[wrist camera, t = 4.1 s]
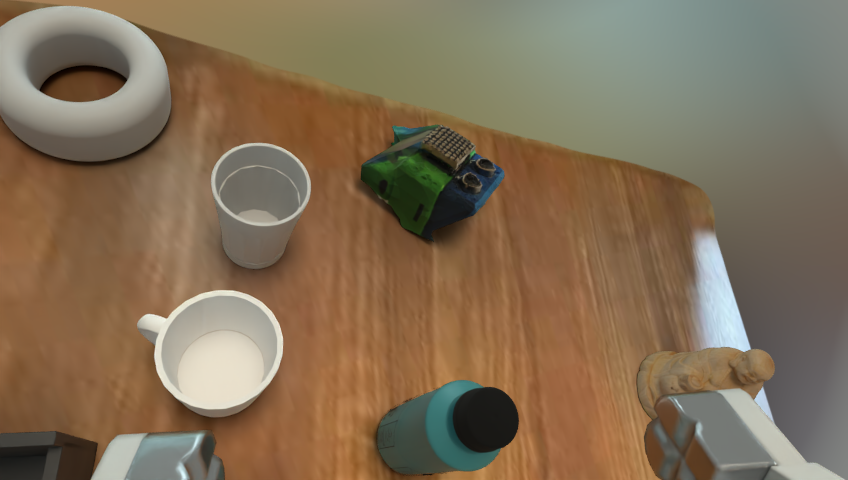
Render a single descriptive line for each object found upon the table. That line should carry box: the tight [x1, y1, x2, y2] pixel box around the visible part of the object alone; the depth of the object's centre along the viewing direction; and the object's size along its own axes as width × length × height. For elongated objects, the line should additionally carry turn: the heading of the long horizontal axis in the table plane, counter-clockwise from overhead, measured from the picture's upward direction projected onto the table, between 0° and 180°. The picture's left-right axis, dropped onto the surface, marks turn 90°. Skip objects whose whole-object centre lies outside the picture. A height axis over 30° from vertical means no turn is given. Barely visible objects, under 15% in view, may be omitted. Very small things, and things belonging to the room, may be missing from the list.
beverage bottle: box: [377, 380, 519, 476], centre depth 41 cm, size 6×7×20 cm
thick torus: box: [0, 6, 171, 161], centre depth 50 cm, size 15×15×7 cm
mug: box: [137, 290, 283, 418], centre depth 42 cm, size 11×9×10 cm
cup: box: [211, 143, 311, 269], centre depth 48 cm, size 8×8×12 cm
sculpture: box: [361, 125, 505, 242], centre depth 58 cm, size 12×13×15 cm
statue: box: [637, 347, 775, 420], centre depth 59 cm, size 12×14×10 cm
